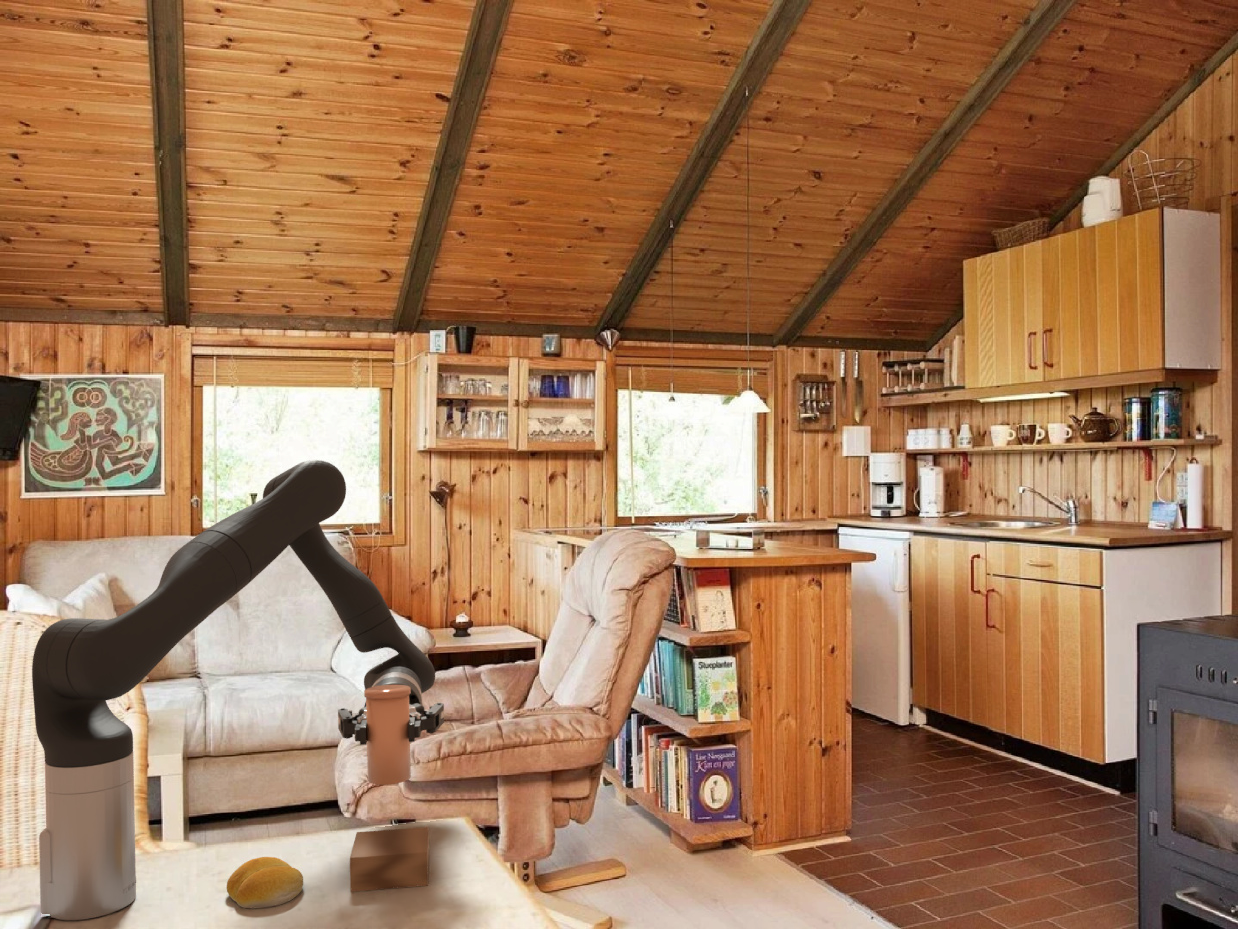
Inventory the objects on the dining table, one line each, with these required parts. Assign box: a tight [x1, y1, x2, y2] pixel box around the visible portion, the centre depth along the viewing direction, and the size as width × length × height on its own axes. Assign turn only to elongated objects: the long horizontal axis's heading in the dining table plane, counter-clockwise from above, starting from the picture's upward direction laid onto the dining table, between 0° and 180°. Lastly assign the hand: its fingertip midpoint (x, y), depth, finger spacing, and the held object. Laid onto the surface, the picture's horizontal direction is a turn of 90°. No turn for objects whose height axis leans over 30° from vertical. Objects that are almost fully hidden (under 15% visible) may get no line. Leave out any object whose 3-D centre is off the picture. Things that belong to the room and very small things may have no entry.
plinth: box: [349, 826, 430, 893], centre depth 129 cm, size 9×9×4 cm
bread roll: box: [226, 856, 304, 909], centre depth 124 cm, size 8×9×4 cm
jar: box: [363, 685, 412, 786], centre depth 129 cm, size 6×6×11 cm
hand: (387, 735), depth 127 cm, fingers closed on jar, 5 cm apart
